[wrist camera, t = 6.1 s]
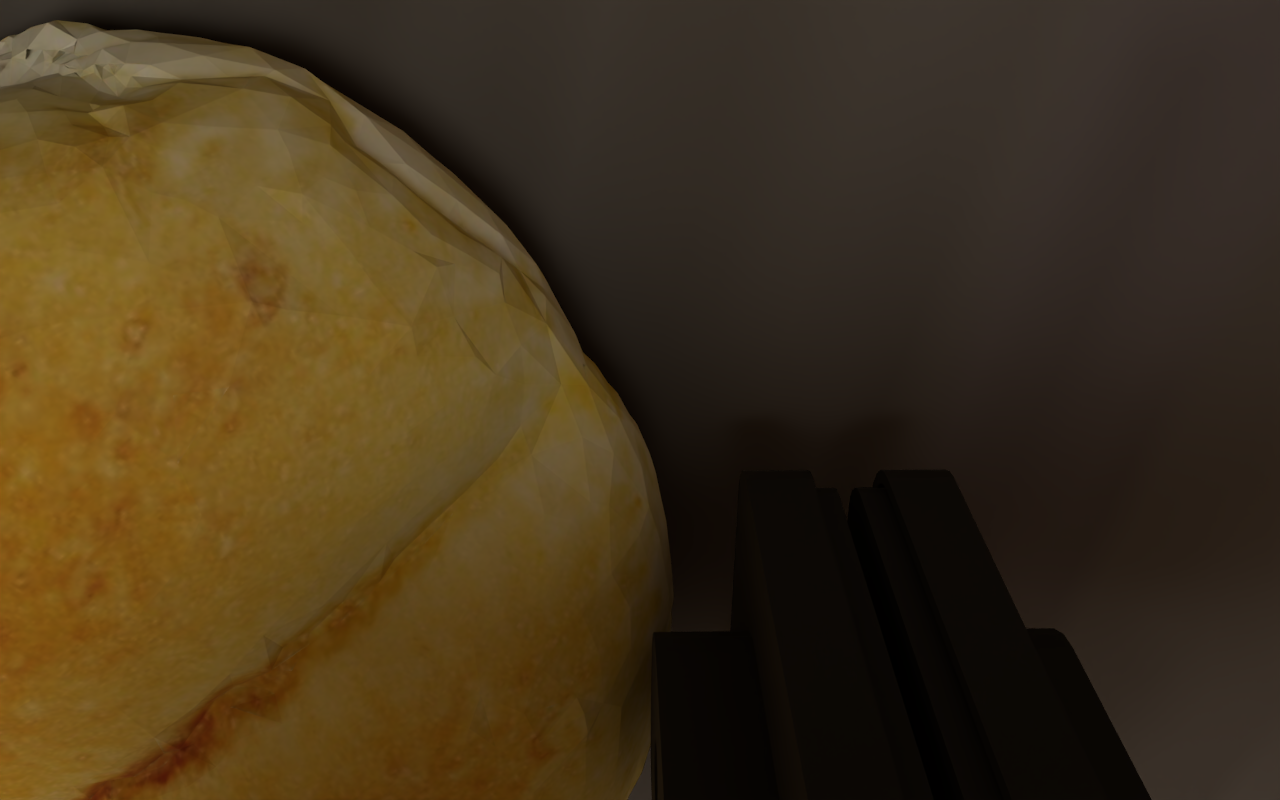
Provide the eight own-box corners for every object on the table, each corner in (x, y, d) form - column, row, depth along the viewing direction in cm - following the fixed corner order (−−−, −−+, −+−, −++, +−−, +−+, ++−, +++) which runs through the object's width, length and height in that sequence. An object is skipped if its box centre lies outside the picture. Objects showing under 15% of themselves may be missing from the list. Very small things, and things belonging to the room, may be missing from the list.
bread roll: (135, 938, 14) (-26, 1343, 10) (-506, 283, 10) (-1120, 580, 6) (808, 712, 12) (885, 1093, 9) (373, -164, 8) (201, -98, 5)
